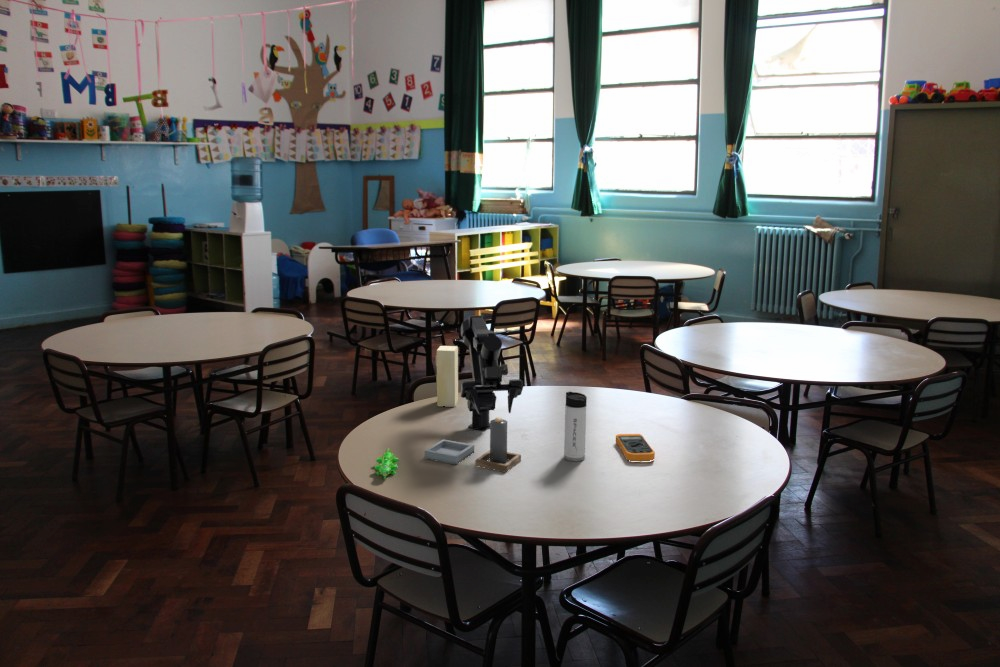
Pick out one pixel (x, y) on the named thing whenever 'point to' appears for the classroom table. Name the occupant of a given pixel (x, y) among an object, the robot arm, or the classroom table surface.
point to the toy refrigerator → (447, 376)
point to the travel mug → (575, 426)
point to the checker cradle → (498, 466)
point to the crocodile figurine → (386, 464)
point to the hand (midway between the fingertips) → (494, 413)
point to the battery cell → (498, 440)
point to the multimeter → (635, 447)
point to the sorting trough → (449, 451)
